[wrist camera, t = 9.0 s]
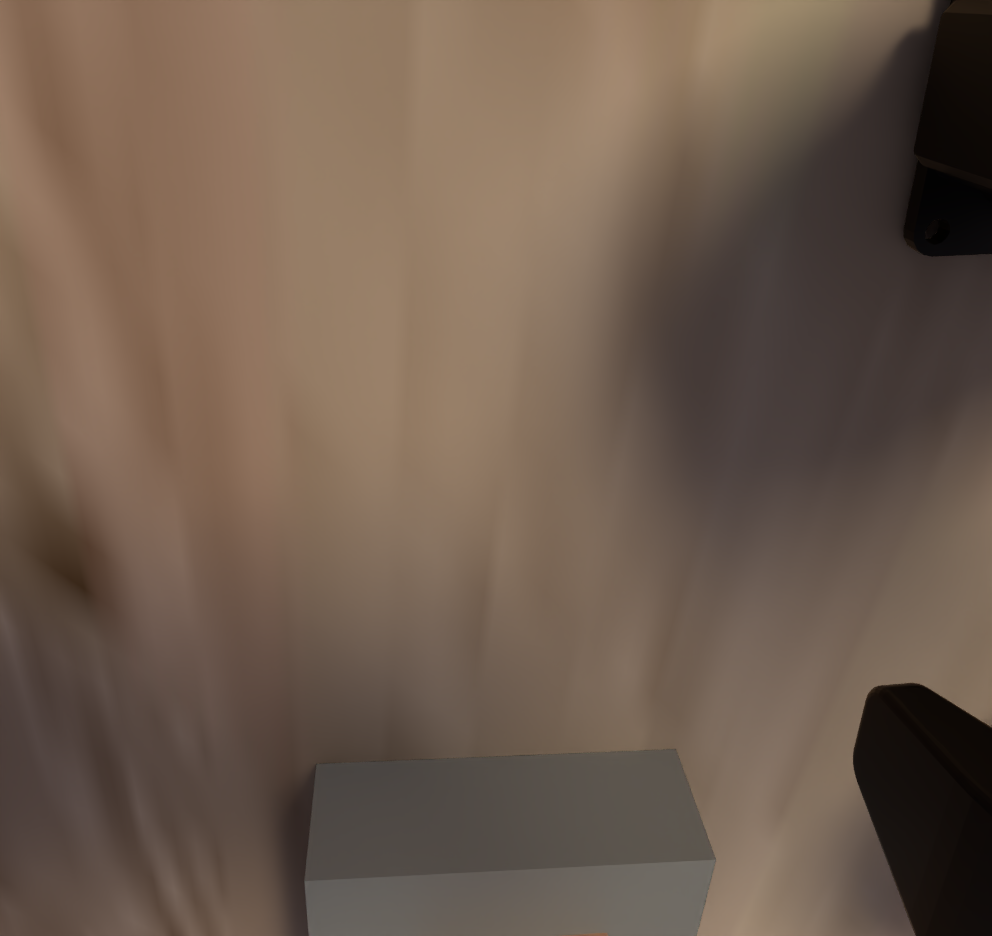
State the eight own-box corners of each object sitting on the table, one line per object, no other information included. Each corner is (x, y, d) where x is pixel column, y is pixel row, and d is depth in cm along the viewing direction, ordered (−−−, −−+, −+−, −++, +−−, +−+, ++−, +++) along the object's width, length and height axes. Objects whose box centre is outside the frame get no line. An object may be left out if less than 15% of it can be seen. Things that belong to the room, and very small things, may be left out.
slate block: (672, 739, 25) (716, 859, 22) (629, 953, 30) (659, 1081, 27) (317, 751, 24) (304, 881, 21) (330, 973, 29) (322, 1108, 26)
